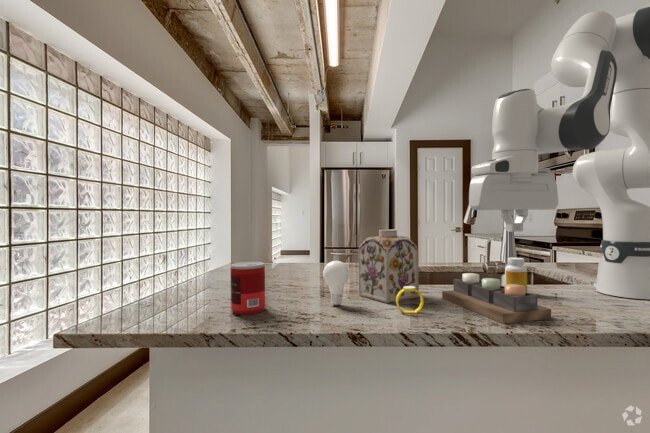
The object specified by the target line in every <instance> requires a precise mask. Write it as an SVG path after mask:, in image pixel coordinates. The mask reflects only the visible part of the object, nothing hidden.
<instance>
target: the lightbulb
mask: <svg viewBox="0 0 650 433" xmlns="http://www.w3.org/2000/svg"><path fill="white" fill-rule="evenodd" d="M322 276H323V280H324V281H325V283H326V285H327V286H328V291H329V293H330V303H331V304H332V305H334V306H335V307H337V306H339V305H341V304H343V301H342V300H343V299H342V297H343V291H344V288H345V285H346V284H347V283H348V280H349V278H350V270H349V267H348V266H347V265H346V263H345V262H343V261H340V260H332V261H329V262H328V263H326V264H325V266H324V268H323V271H322Z"/></svg>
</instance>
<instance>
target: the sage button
mask: <svg viewBox="0 0 650 433" xmlns="http://www.w3.org/2000/svg"><path fill="white" fill-rule="evenodd" d="M481 280H482V287H483V288H487V289H499V288H500V285H501V279H499V278H492V277H484V278H482V279H481Z"/></svg>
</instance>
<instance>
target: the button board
mask: <svg viewBox="0 0 650 433" xmlns="http://www.w3.org/2000/svg"><path fill="white" fill-rule="evenodd" d="M441 293H442V294H441V296H442V297H441V298H442V300H444V301H447V302H449V303H451V304H453V305H456V306H459V307H461V308H464V309H466V310H469V311H471V312H473V313H475V314H478V315H481V316H483V317H486V318H488V319H491V320H493V321H496V322H498V323H501V324H503V325H504V324H513V323H522V322H532V321H539V320H540V321H541V320H548V319H549V320H551V319H552V309H551V308H549V307H545V306H542V305H539V304H538V294H534V293H530V292H528V291H527V292H525V296H515V297H513V296H510V295H507V294H505V285H501V284H500V288H499V289H487V288H483V287H482V279H479V282H477V283H467V282H463V281H462V278H458V279H457V278H454V279H453V290H443V291H442V292H441Z"/></svg>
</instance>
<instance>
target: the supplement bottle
mask: <svg viewBox="0 0 650 433" xmlns="http://www.w3.org/2000/svg"><path fill="white" fill-rule="evenodd" d="M507 264H508V265H506V266H505V267H504V286H505V285H506V284H518V285H523V286H525V292H527V293H528V268H527V267H526V266H525V258H524V257H523V258H522V257H516V256H515V257H513V256H512V257H508V258H507Z"/></svg>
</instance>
